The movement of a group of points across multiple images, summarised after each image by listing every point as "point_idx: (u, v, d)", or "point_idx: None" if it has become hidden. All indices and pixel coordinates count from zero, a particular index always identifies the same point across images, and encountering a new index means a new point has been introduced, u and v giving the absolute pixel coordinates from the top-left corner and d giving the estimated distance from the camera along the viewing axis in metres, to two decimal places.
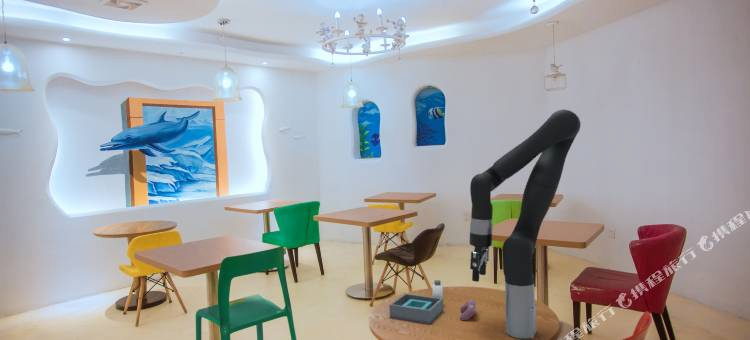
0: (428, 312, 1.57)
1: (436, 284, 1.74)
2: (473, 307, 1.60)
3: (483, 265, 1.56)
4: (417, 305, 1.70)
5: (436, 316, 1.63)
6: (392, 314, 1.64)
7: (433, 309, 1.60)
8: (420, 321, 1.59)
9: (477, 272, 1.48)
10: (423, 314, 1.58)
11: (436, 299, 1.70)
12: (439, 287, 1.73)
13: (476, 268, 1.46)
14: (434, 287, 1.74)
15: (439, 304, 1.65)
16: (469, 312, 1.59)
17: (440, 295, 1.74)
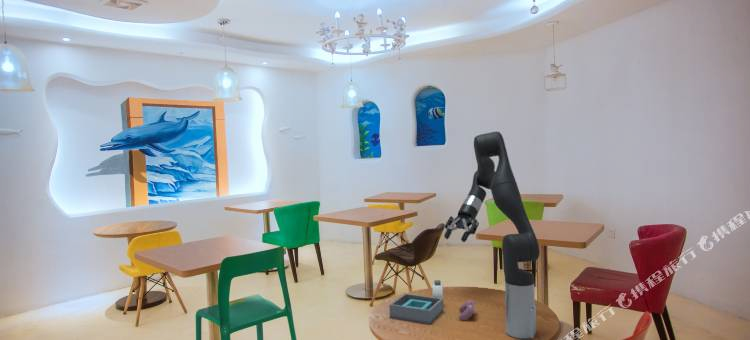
0: (428, 312, 1.57)
1: (436, 284, 1.74)
2: (472, 307, 1.60)
3: None
4: (417, 305, 1.70)
5: (436, 316, 1.63)
6: (392, 314, 1.64)
7: (433, 309, 1.60)
8: (420, 321, 1.59)
9: (447, 230, 1.87)
10: (423, 314, 1.58)
11: (436, 299, 1.70)
12: (439, 287, 1.73)
13: None
14: (434, 287, 1.74)
15: (439, 304, 1.65)
16: (468, 312, 1.59)
17: (440, 295, 1.74)
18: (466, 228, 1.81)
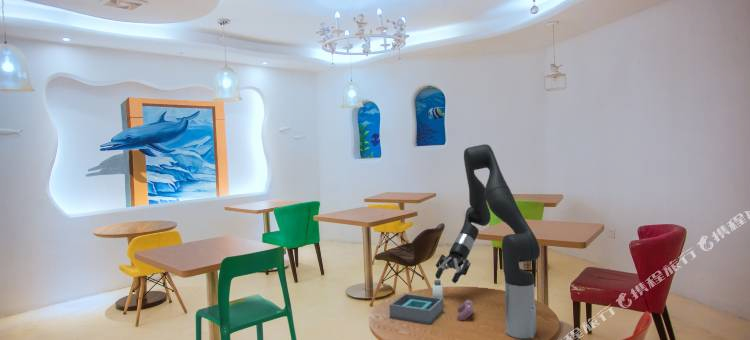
0: (428, 312, 1.57)
1: (436, 284, 1.74)
2: (470, 307, 1.60)
3: None
4: (417, 305, 1.70)
5: (436, 316, 1.63)
6: (392, 314, 1.64)
7: (433, 309, 1.60)
8: (420, 321, 1.59)
9: (438, 269, 1.83)
10: (423, 314, 1.58)
11: (436, 299, 1.70)
12: (439, 287, 1.73)
13: None
14: (434, 287, 1.74)
15: (439, 304, 1.65)
16: (467, 312, 1.59)
17: (440, 295, 1.74)
18: (457, 269, 1.77)
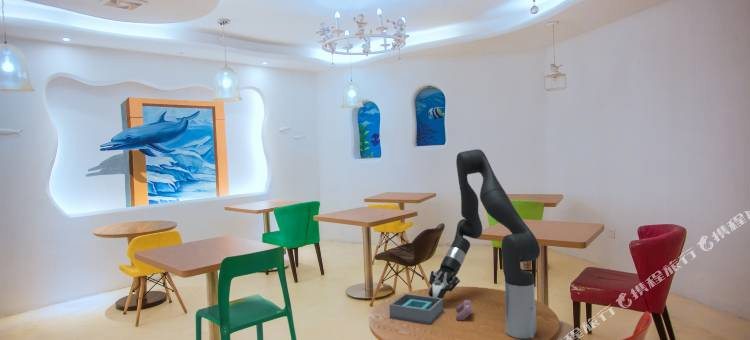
0: (428, 312, 1.57)
1: (436, 284, 1.74)
2: (469, 307, 1.60)
3: None
4: (417, 305, 1.70)
5: (436, 316, 1.63)
6: (392, 314, 1.64)
7: (433, 309, 1.60)
8: (420, 321, 1.59)
9: (431, 287, 1.77)
10: (423, 314, 1.58)
11: (436, 299, 1.70)
12: (439, 287, 1.73)
13: None
14: (434, 287, 1.74)
15: (439, 304, 1.65)
16: (465, 312, 1.59)
17: None
18: (444, 284, 1.74)
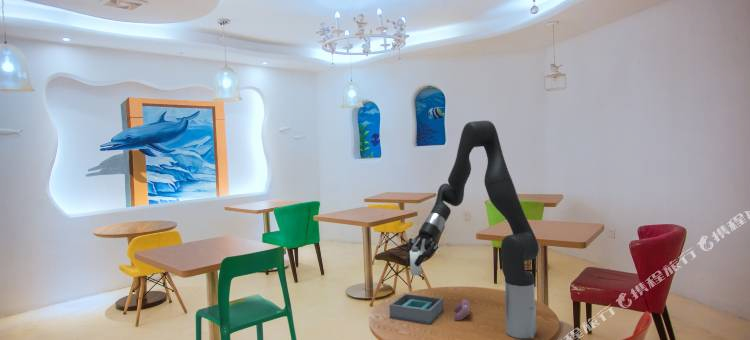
0: (428, 312, 1.57)
1: (413, 250, 1.65)
2: (467, 307, 1.60)
3: None
4: (417, 305, 1.70)
5: (436, 316, 1.63)
6: (392, 314, 1.64)
7: (433, 309, 1.60)
8: (420, 321, 1.59)
9: (409, 254, 1.68)
10: (423, 314, 1.58)
11: (436, 299, 1.70)
12: (416, 253, 1.64)
13: None
14: (411, 253, 1.65)
15: (439, 304, 1.65)
16: (463, 312, 1.59)
17: None
18: (421, 251, 1.65)
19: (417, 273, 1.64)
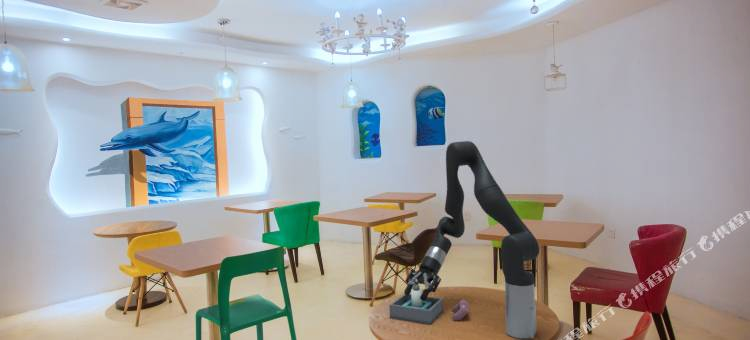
0: (428, 312, 1.57)
1: (415, 289, 1.65)
2: (465, 307, 1.60)
3: None
4: None
5: (436, 316, 1.63)
6: (392, 314, 1.64)
7: (433, 309, 1.60)
8: (420, 321, 1.59)
9: (407, 286, 1.70)
10: (423, 314, 1.58)
11: (436, 299, 1.70)
12: (418, 292, 1.64)
13: None
14: (412, 292, 1.65)
15: (439, 304, 1.65)
16: (462, 312, 1.59)
17: (419, 301, 1.65)
18: (426, 285, 1.64)
19: None
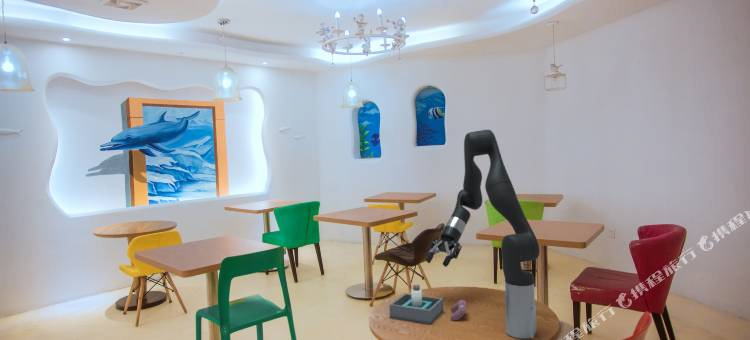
0: (428, 312, 1.57)
1: (415, 289, 1.66)
2: (464, 307, 1.60)
3: None
4: None
5: (436, 316, 1.63)
6: (392, 314, 1.64)
7: (433, 309, 1.60)
8: (420, 321, 1.59)
9: (429, 253, 1.79)
10: (423, 314, 1.58)
11: (436, 299, 1.70)
12: (418, 292, 1.65)
13: None
14: (413, 292, 1.65)
15: (439, 304, 1.65)
16: (460, 312, 1.59)
17: (419, 301, 1.65)
18: (448, 252, 1.73)
19: None
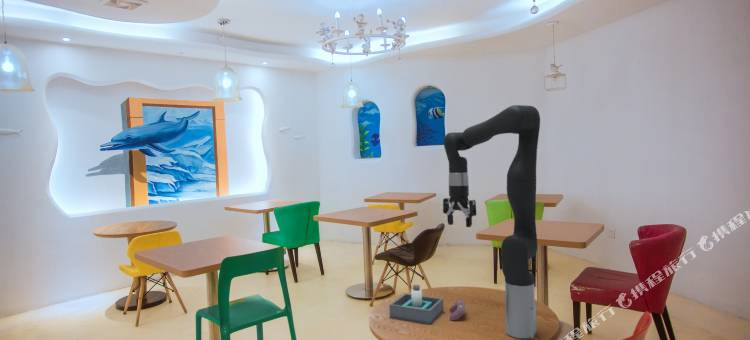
0: (428, 312, 1.57)
1: (415, 289, 1.66)
2: (462, 307, 1.60)
3: None
4: None
5: (436, 316, 1.63)
6: (392, 314, 1.64)
7: (433, 309, 1.60)
8: (420, 321, 1.59)
9: (448, 216, 1.75)
10: (423, 314, 1.58)
11: (436, 299, 1.70)
12: (418, 292, 1.65)
13: None
14: (413, 292, 1.65)
15: (439, 304, 1.65)
16: (459, 312, 1.59)
17: (419, 301, 1.65)
18: (466, 213, 1.68)
19: None
